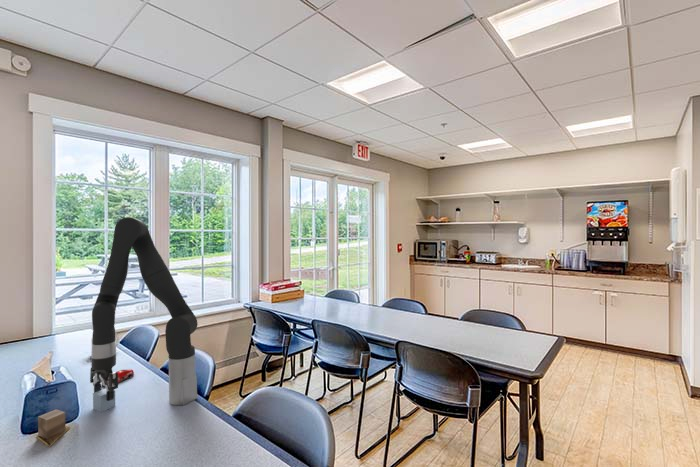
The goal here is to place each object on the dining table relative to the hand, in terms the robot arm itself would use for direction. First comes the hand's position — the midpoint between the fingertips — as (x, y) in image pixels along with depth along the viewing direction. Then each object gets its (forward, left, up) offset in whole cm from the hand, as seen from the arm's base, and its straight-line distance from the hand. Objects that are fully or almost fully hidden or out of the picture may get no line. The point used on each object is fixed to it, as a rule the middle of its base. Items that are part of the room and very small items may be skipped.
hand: (103, 397), depth 130 cm
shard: (-6, +17, -5) cm, 19 cm away
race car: (+19, -16, -4) cm, 25 cm away
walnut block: (-5, +18, -3) cm, 19 cm away
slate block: (-1, 0, -4) cm, 4 cm away
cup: (+61, -33, -4) cm, 70 cm away
